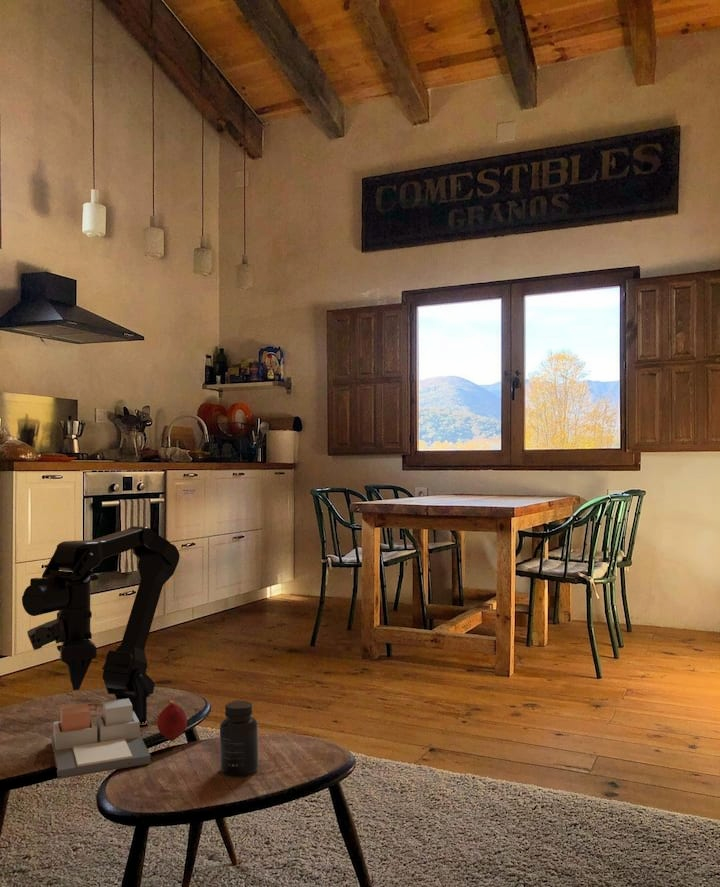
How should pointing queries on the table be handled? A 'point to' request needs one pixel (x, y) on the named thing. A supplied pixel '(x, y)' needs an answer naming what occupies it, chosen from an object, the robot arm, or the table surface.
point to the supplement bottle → (238, 740)
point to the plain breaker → (117, 711)
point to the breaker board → (98, 748)
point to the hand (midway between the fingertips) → (74, 686)
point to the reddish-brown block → (74, 717)
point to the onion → (172, 721)
